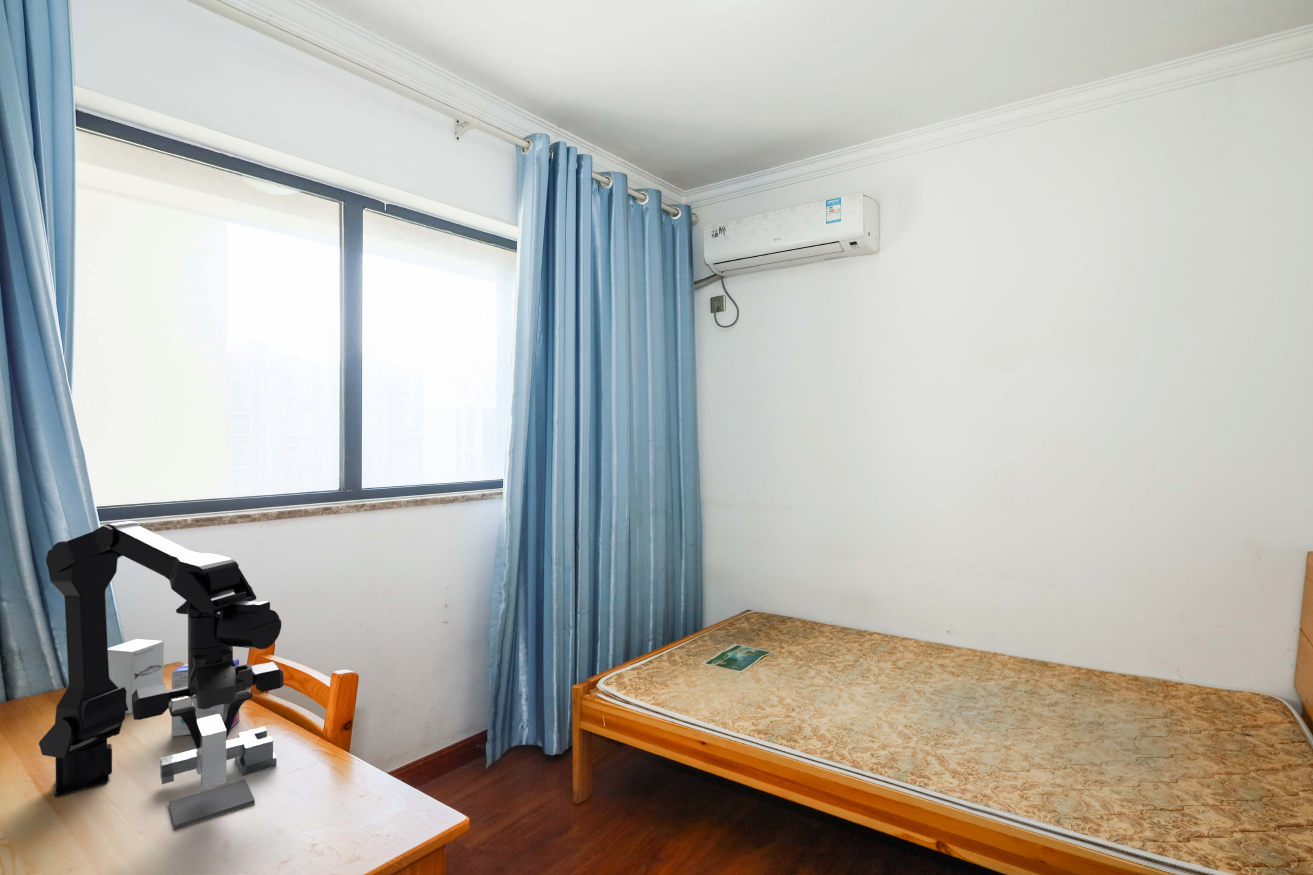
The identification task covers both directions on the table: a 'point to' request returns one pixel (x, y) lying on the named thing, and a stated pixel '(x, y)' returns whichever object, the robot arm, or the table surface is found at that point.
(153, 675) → the supplement box
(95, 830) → the table surface
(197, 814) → the mat
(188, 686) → the robot arm
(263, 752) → the vise
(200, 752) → the brushed aluminum pillar
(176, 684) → the ink cartridge box
